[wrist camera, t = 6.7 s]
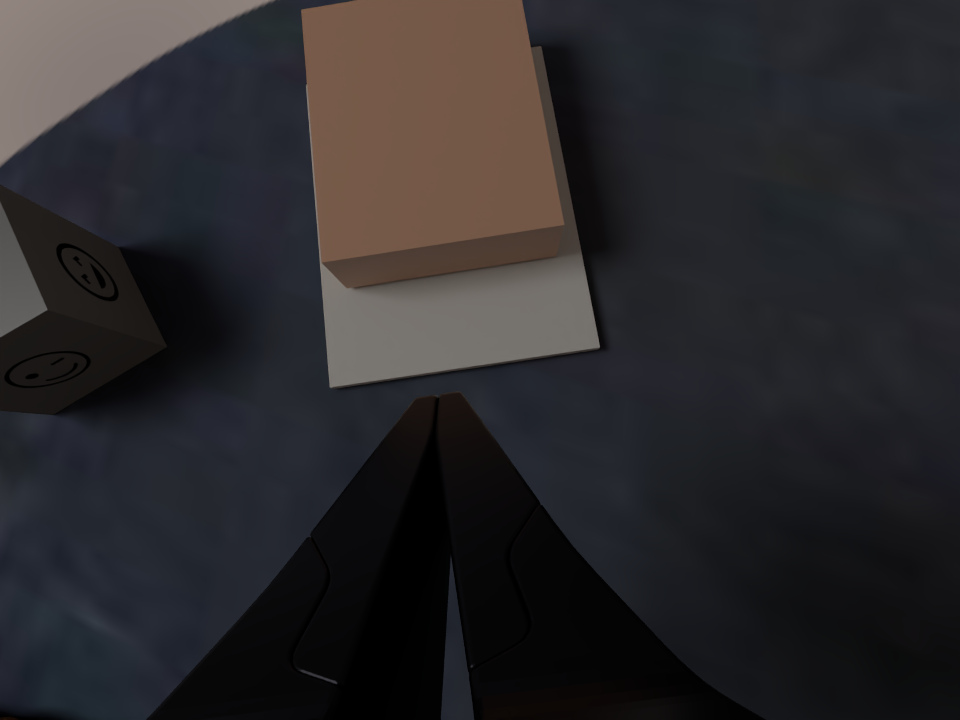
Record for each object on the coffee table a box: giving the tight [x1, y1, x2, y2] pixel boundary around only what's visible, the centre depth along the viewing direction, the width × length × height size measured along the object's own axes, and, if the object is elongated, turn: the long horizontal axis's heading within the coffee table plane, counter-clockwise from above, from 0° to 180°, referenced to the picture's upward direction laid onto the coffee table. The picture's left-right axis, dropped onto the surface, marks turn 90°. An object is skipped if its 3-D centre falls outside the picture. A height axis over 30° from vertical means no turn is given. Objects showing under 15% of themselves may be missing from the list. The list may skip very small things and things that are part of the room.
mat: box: [306, 46, 600, 389], centre depth 19 cm, size 13×10×1 cm
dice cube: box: [0, 185, 167, 415], centre depth 17 cm, size 5×5×5 cm
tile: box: [301, 0, 564, 288], centre depth 18 cm, size 3×8×10 cm
